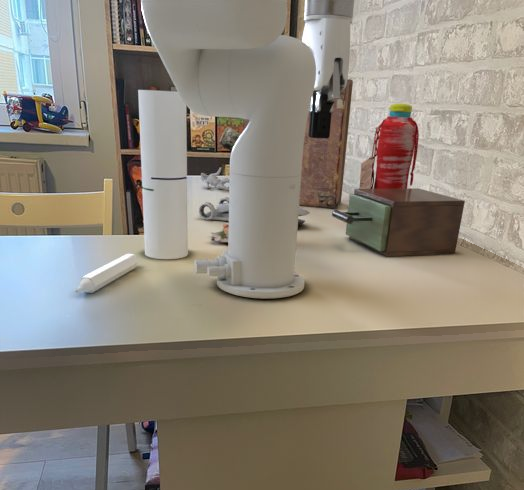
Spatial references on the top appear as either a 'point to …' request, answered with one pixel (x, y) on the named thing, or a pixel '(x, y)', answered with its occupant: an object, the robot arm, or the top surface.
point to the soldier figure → (215, 180)
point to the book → (325, 157)
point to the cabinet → (418, 221)
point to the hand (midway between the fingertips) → (318, 137)
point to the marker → (107, 273)
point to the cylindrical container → (164, 173)
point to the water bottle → (392, 151)
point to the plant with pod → (228, 143)
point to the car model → (223, 211)
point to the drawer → (366, 221)
